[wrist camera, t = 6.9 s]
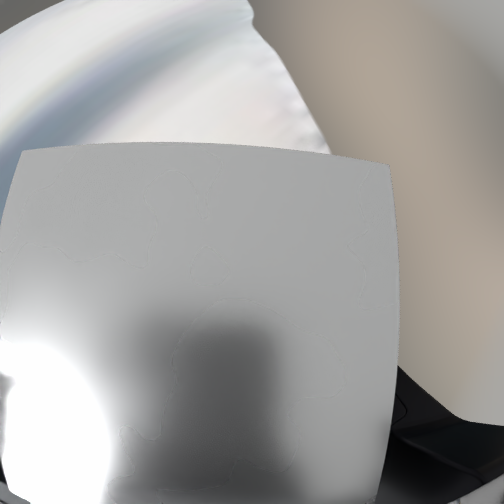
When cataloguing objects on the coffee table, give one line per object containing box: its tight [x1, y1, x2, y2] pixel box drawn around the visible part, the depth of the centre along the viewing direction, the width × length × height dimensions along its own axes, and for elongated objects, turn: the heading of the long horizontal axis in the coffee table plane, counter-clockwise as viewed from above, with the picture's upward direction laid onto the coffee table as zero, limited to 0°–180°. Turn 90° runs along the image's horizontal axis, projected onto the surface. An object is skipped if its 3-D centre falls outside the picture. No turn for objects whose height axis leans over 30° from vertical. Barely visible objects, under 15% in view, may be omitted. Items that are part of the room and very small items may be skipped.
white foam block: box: [0, 142, 400, 504], centre depth 9 cm, size 6×6×12 cm
